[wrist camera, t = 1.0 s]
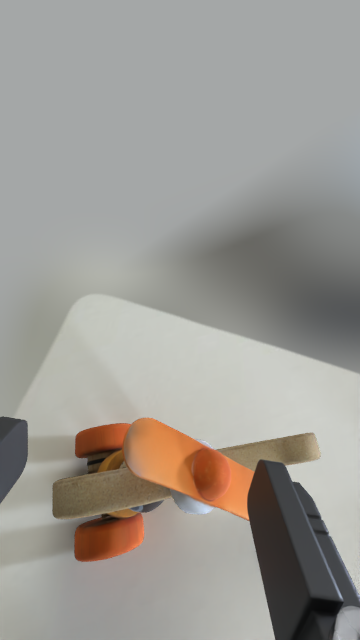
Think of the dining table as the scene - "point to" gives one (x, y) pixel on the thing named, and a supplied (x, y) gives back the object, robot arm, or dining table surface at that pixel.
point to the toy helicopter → (158, 479)
